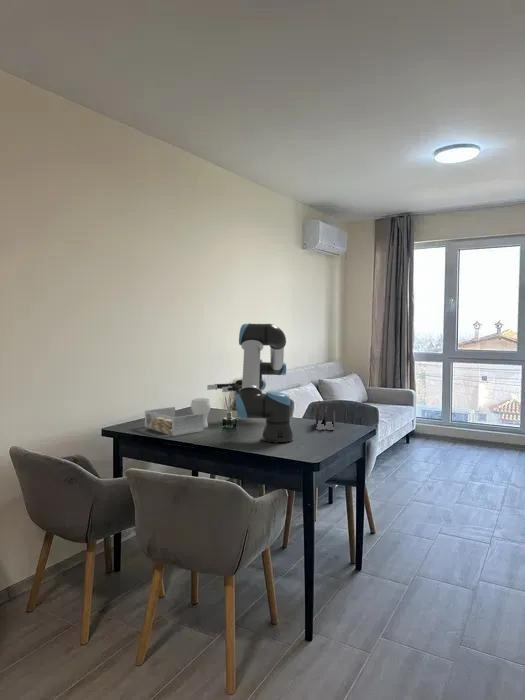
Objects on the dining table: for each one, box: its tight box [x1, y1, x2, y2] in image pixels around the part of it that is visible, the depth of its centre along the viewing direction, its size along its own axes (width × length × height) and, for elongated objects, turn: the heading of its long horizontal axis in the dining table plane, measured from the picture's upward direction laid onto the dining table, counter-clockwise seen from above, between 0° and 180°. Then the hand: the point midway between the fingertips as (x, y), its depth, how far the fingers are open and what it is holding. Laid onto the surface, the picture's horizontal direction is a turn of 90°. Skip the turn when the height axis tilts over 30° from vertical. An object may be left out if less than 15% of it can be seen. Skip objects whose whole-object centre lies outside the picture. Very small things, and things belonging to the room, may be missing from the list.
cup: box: [190, 397, 211, 429], centre depth 275 cm, size 11×11×15 cm
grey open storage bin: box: [144, 406, 204, 437], centre depth 263 cm, size 28×18×10 cm, turn 43°
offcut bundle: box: [152, 417, 172, 434], centre depth 259 cm, size 18×4×6 cm, turn 43°
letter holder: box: [315, 400, 336, 428], centre depth 278 cm, size 10×20×14 cm, turn 170°
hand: (215, 388), depth 281 cm, fingers open, 13 cm apart
